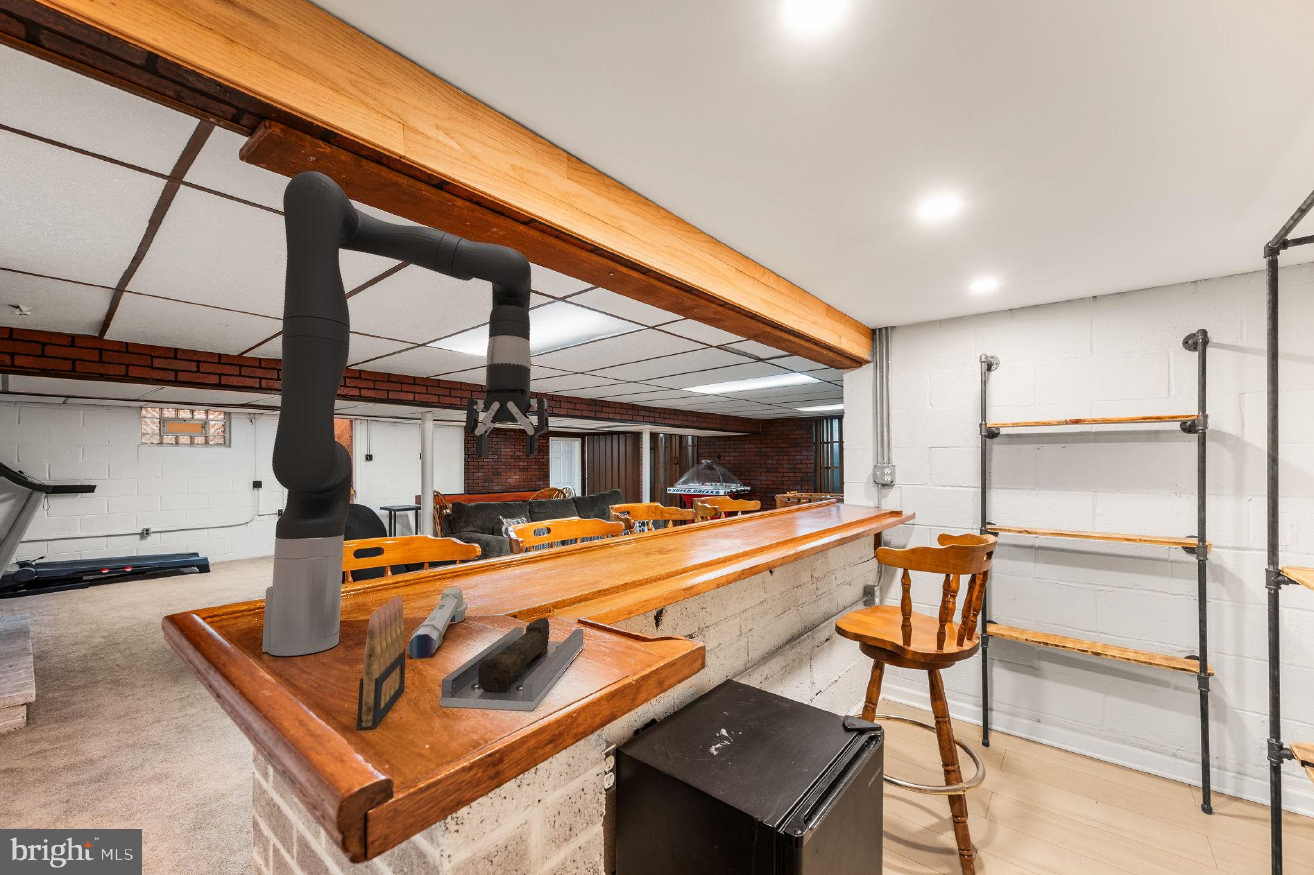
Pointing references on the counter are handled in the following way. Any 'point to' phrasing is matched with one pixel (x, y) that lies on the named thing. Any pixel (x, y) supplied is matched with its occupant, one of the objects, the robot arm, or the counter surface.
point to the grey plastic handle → (437, 624)
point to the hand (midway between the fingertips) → (506, 457)
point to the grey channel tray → (524, 685)
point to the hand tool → (514, 657)
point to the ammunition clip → (382, 665)
